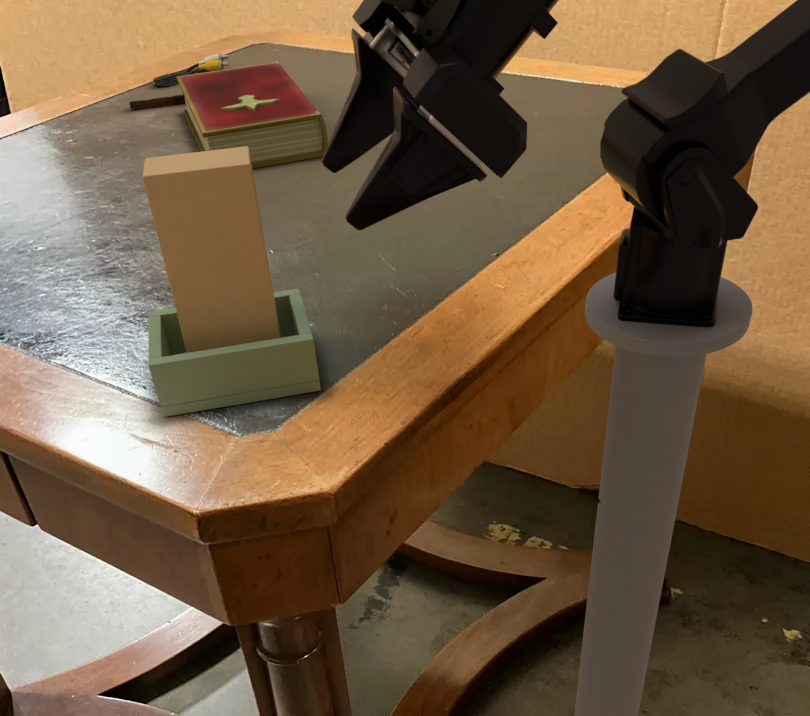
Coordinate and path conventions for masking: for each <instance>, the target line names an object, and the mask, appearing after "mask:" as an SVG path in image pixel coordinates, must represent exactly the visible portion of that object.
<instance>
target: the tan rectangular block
mask: <svg viewBox="0 0 810 716" xmlns="http://www.w3.org/2000/svg"><path fill="white" fill-rule="evenodd" d="M253 170H254V169H253V168H252V164H251V158H250V153H249V147H248V146H245V147H237V148H228V149H219V150H211V151H202V152H201V151H195V152H185V153H178V154H169V155H161V156H153V157H152V156H151V157H145V158H144V164H143V170H142V182H143V185H144V189H145V194H146V196H147V201H148V204H149V209H150V213H151V216H152V220H153V224H154V228H155V229H154V230H155V232H156V236H157V240H158V244H159V248H160V253H161V256H162V260H163V263H164V268H165V272H166V276H167V279H168V284H169V287H170V292H171V295H172V299H173V303H174V307H175V308H176V312H177V315H178V319H179V323H180V327H181V331H182V335H183V339H184V343H185V347H186V351H187V353H190V352H196V351H202V350H209V349H215V348H221V347H227V346H234V345H240V344H246V343H252V342H258V341H265V340H271V339H277V338H281V334H280V328H279V322H278V316H277V310H276V305H275V299H274V293H273V292H274V287H273V283H272V282H273V281H272V276H271V271H270V264H269V259H268V253H267V246H266V242H265V234H264V230H263V223H262V217H261V211H260V206H259V201H258V194H257V189H256V183H255V176H254V171H253Z"/></svg>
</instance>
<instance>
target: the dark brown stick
mask: <svg viewBox="0 0 810 716" xmlns="http://www.w3.org/2000/svg"><path fill="white" fill-rule="evenodd" d="M128 103H129V107H130V111H131V112H132V111H133V112H134V111H141V110H149V109H150V110H151V109H157V108H165V107H173V106H179V105H180V106H181V105H186V102H185V97H184V94H183V93H182V94H176V95H172V96H163V97H154V98H145V99H139V100H132V101H131V100H130V101H128Z"/></svg>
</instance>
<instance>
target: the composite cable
mask: <svg viewBox="0 0 810 716" xmlns="http://www.w3.org/2000/svg"><path fill="white" fill-rule="evenodd" d="M229 58H230V55H229V54H224V53H223V54H221V53H215V54H212V55H208V56H205V57H204V58H203V59H202V60H199V61H197V62H196V63H195V64H193V65H191V66H189V67H188V68H185V69H182V70H178V71H174V72H170V73H166V74H162V75H159V76H157V77H154V78H152V81H153V85H154V86H155V87H162V86H166V85H170V84H173V83H178V81H177V76H184V75H191V74H197V73H204V72H211V71H217V70H224V69H225V67H229V66H230V62H229V61H226V62H224V60H227V59H229Z"/></svg>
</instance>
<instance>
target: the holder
mask: <svg viewBox="0 0 810 716" xmlns="http://www.w3.org/2000/svg"><path fill="white" fill-rule="evenodd" d="M273 293H274V299H275V305H276V310H277V316H278V322H279V328H280V334H281V338H277V339H271V340H265V341H258V342H252V343H246V344H240V345H234V346H227V347H221V348H215V349H209V350H202V351H196V352H190V353H187V351H186V347H185V343H184V339H183V335H182V331H181V327H180V323H179V319H178V315H177V312H176V308H175V306H174V307H169V308H162V309H156V310H150V311H148V312H147V313H148V315H147V317H148V326H147V327H148V328H147V329H148V368H149V372H150V376H151V379H152V383H153V386H154V389H155V393H156V397H157V400H158V403H159V406H160V410H161V413H162V416H163V417H164V418H166V417H173V416H178V415H184V414H190V413H196V412H202V411H208V410H213V409H219V408H224V407H231V406H237V405H243V404H248V403H249V404H250V403H255V402H261V401H267V400H274V399H279V398H285V397H290V396H298V395H302V394H303V395H304V394H308V393H309V394H310V393H314V392H320V391H321V390H322V388H321V381H320V375H319V367H318V366H319V365H318V361H317V353H316V346H315V345H316V344H315V339H314V336H313V332H312V328H311V325H310V322H309V321H310V320H309V318H308V315H307V311H306V307H305V305H304V300H303V296H302V294H301V290H300V288H299V287H298V288H292V289H285V290H279V291H273Z"/></svg>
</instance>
